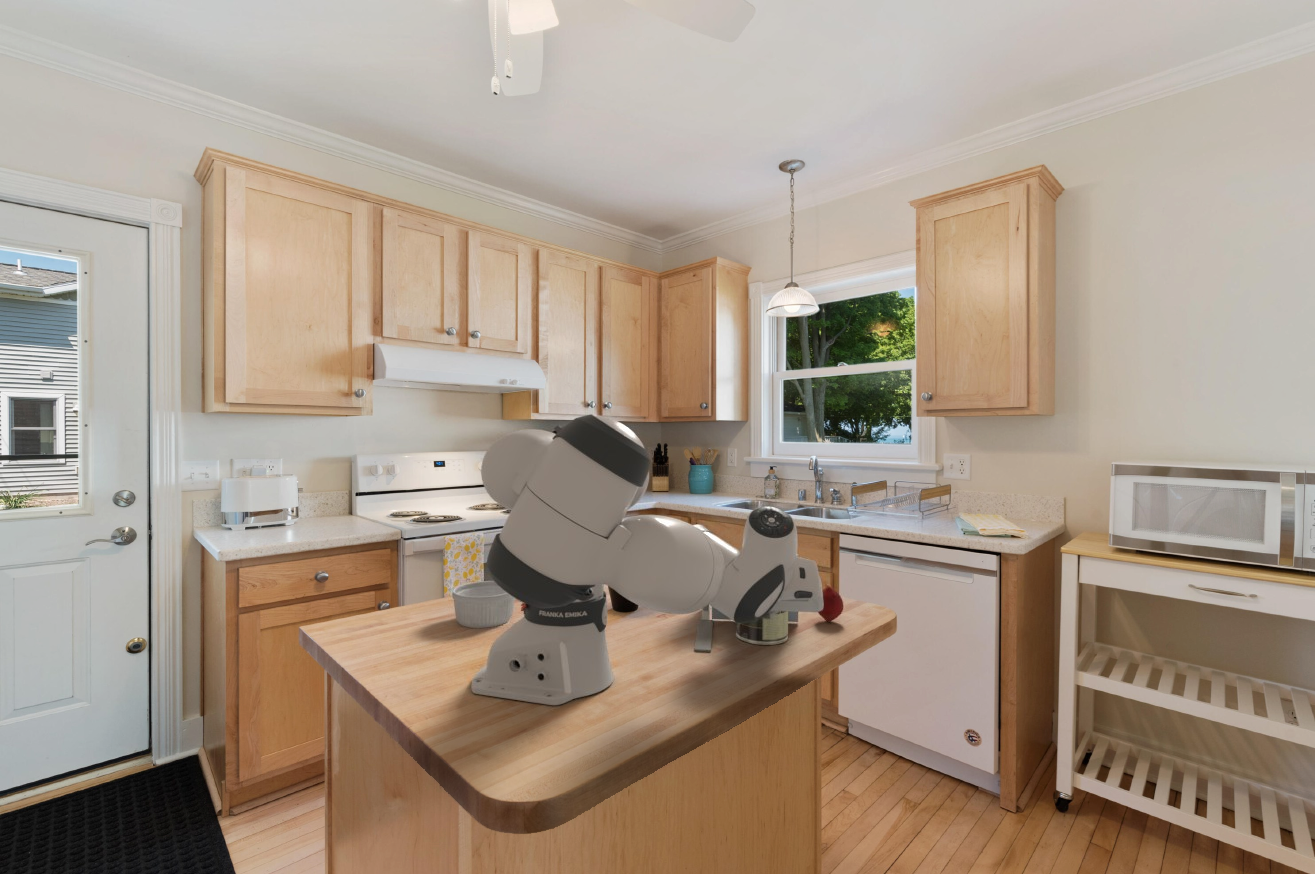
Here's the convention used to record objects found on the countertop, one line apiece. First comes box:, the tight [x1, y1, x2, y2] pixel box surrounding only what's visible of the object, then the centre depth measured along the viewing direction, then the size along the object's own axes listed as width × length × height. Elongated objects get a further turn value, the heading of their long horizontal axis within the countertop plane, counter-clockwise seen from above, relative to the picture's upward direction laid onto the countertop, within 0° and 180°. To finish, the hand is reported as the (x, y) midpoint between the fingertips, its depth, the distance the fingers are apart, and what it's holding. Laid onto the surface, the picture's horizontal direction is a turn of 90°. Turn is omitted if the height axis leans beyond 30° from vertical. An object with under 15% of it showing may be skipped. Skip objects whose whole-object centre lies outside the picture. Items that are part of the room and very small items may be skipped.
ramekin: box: [451, 580, 516, 629], centre depth 132 cm, size 13×13×7 cm
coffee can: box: [735, 611, 789, 646], centre depth 122 cm, size 10×10×14 cm
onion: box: [817, 583, 844, 623], centre depth 131 cm, size 6×6×8 cm
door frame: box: [694, 604, 714, 653], centre depth 128 cm, size 3×28×16 cm, turn 174°
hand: (764, 615), depth 117 cm, fingers closed, pressing on coffee can
